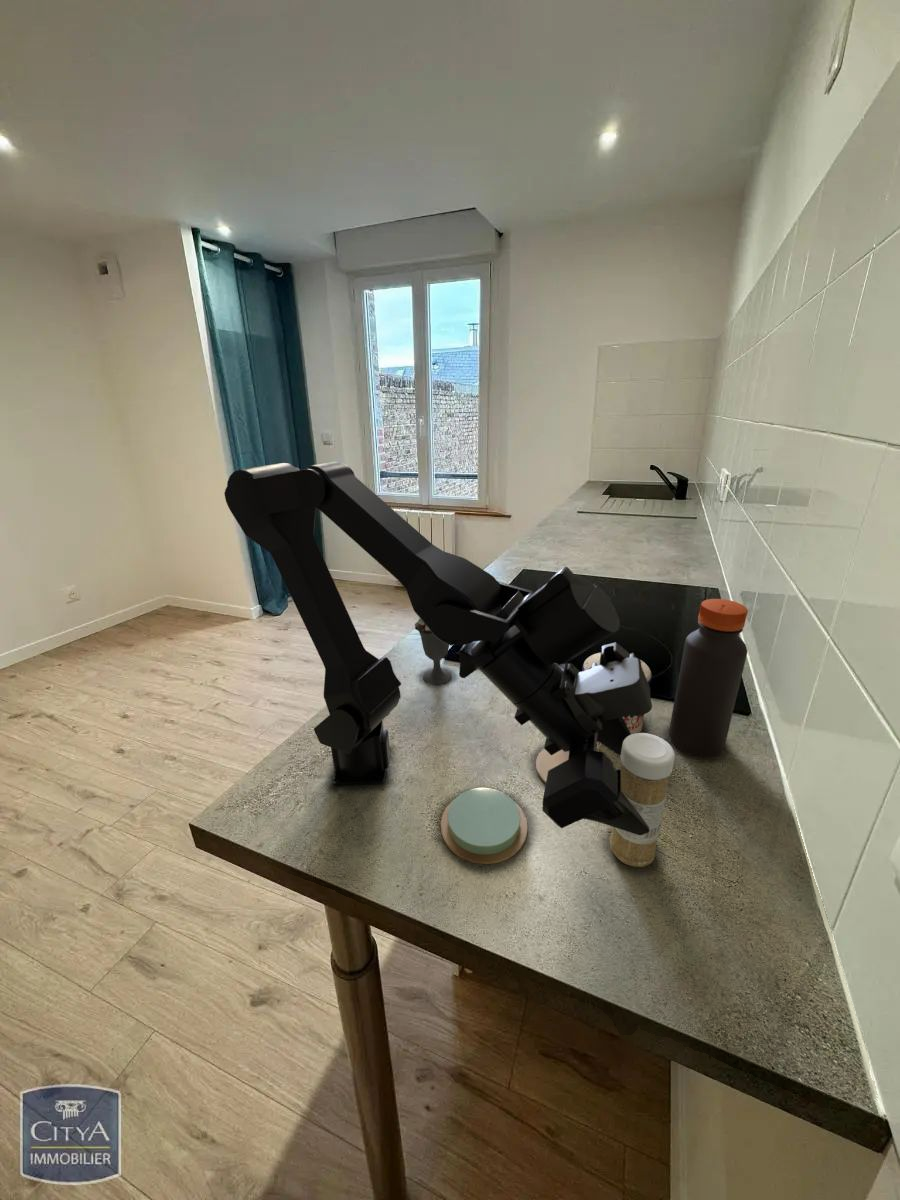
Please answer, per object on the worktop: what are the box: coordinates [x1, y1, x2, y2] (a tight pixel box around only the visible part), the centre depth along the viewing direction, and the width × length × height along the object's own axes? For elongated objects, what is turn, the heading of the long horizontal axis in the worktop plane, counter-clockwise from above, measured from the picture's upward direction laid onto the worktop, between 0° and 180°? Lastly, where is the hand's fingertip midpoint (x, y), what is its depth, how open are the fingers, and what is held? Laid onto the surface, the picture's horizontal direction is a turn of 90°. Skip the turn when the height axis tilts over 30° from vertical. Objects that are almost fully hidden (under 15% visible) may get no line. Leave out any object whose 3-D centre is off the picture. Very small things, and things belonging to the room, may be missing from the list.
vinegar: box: [668, 598, 749, 758], centre depth 60 cm, size 7×7×20 cm
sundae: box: [414, 617, 453, 685], centre depth 78 cm, size 7×7×15 cm
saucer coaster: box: [440, 800, 528, 865], centre depth 52 cm, size 10×10×1 cm
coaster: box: [535, 748, 569, 784], centre depth 60 cm, size 9×9×1 cm
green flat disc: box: [448, 787, 520, 855], centre depth 52 cm, size 8×8×1 cm
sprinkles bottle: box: [609, 732, 676, 868], centre depth 46 cm, size 5×5×13 cm
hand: (642, 794), depth 46 cm, fingers open, 9 cm apart
